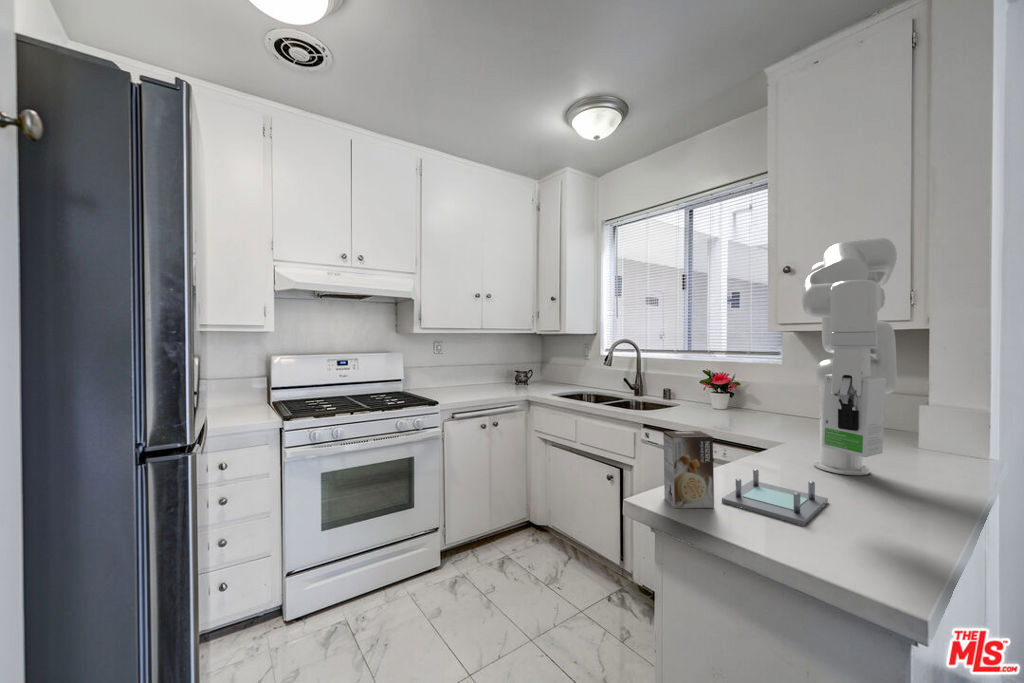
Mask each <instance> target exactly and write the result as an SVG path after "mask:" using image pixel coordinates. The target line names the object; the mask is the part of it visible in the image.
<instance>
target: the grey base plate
mask: <svg viewBox="0 0 1024 683" xmlns="http://www.w3.org/2000/svg"><path fill="white" fill-rule="evenodd" d="M794 493H799V494H800V514H796V513H794ZM722 502H723V504H725V503H727V505H729V504H730V505H729V506H732V505H733V507H736V506H738V507H737V508H739V507H742V508H741V509H743V508H745V509H744V510H746V509H748V510H747V511H750V510H752V511H751V512H753V511H755V512H754V513H757V512H758V513H757V514H760V513H762V514H761V515H764V514H765V515H764V516H767V515H769V516H768V517H771V516H773V517H772V518H774V517H776V518H775V519H777V518H779V519H778V520H781V519H783V520H782V521H784V520H786V521H785V522H788V521H790V522H789V523H791V522H793V523H792V524H795V523H797V524H796V525H798V524H800V526H802V525H803V526H802V527H805V526H806V525H807V524H808V523H809V522H810V521H811V520H812V519H813V518H814V517H815V516H816V515H817V514H818V513H819V512H820V511H821V510H822V509H823V508H824V507H825V506H826V505H827V504H828V503H827V502H829V498H828V497H825V496H821V495H816V494H815V501H812V500H809V499H808V493H806V492H804V491H803V492H802V491H798V490H794V489H790V488H786V487H782V486H777V485H773V484H769V483H764V482H761V481H759V487H758V486H757V487H755V486H753V479H752V480H750V481H748V482H746V483H745V484H743V485H741V498H738V497H736V489H735V490H733V491H732V492H730V493H728V494H727V495H725V496H723V497H722V498H721V503H722ZM826 503H827V504H826ZM825 504H826V505H825ZM824 505H825V506H824ZM823 506H824V507H823ZM822 507H823V508H822ZM821 508H822V509H821ZM820 509H821V510H820ZM819 510H820V511H819ZM818 511H819V512H818ZM817 512H818V513H817ZM816 513H817V514H816ZM815 514H816V515H815ZM814 515H815V516H814ZM813 516H814V517H813ZM812 517H813V518H812ZM811 518H812V519H811ZM810 519H811V520H810ZM809 520H810V521H809ZM808 521H809V522H808ZM807 522H808V523H807ZM806 523H807V524H806ZM805 524H806V525H805ZM804 525H805V526H804Z"/></svg>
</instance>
